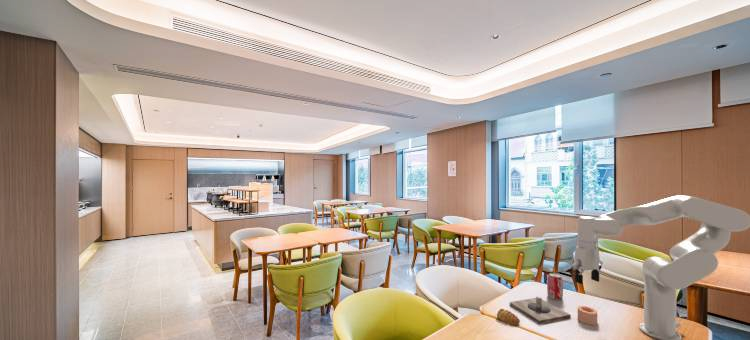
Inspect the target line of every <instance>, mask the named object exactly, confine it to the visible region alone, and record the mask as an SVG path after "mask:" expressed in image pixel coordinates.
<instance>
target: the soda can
mask: <svg viewBox="0 0 750 340" xmlns="http://www.w3.org/2000/svg"><path fill="white" fill-rule="evenodd" d="M546 283H547V284H546V285H547V286H546V288H547V291H546V292H547V296H548V297H549V298H550V299H553V300H561V299H563V297H564V296H563V295H564V279H563V277H562V275H561V274H559V273H555V272H550V273H548V275H547V281H546Z"/></svg>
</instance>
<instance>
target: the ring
mask: <svg viewBox="0 0 750 340" xmlns="http://www.w3.org/2000/svg"><path fill="white" fill-rule="evenodd" d="M577 320H578V321H579V322H581V323H583V324H586V325H590V326H595V325H598V310H597V309H595V308H593V307H591V306H587V305H578V307H577Z"/></svg>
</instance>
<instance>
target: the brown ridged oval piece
mask: <svg viewBox="0 0 750 340" xmlns="http://www.w3.org/2000/svg"><path fill="white" fill-rule="evenodd" d="M496 317H497V318H498V319H499V320H501V321H502V322H503V323H506V324H509V325H515V326H517V325H519V324H520V322H521V320H520V318H519V317H518V316H517V315H516V314H514V313H513V312H512V311H509V310H508V309H504V308H500V309H499V310H498V311H497V313H496Z"/></svg>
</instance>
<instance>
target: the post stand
mask: <svg viewBox="0 0 750 340" xmlns="http://www.w3.org/2000/svg"><path fill="white" fill-rule="evenodd" d="M509 306H510V307H512V308H514V309H516V310H517V311H519V312H520V313H522V315H525V316H526V317H528V318H529V319H531V320H532V321H534V322H535V323H537V324H538V325H541V324H547V323H552V322H556V321H561V320H567V319H570V318H571V316H572V315H571V314H570V313H569V312H567V311H565V310H564V309H561V308H559V307H557V306H556V305H554V304H552V303H550V302H548V301H546V300H544V299H542V297H540V296H536V297H534V298H527V299H521V300H520V299H519V300H515V301H510V302H509Z"/></svg>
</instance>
